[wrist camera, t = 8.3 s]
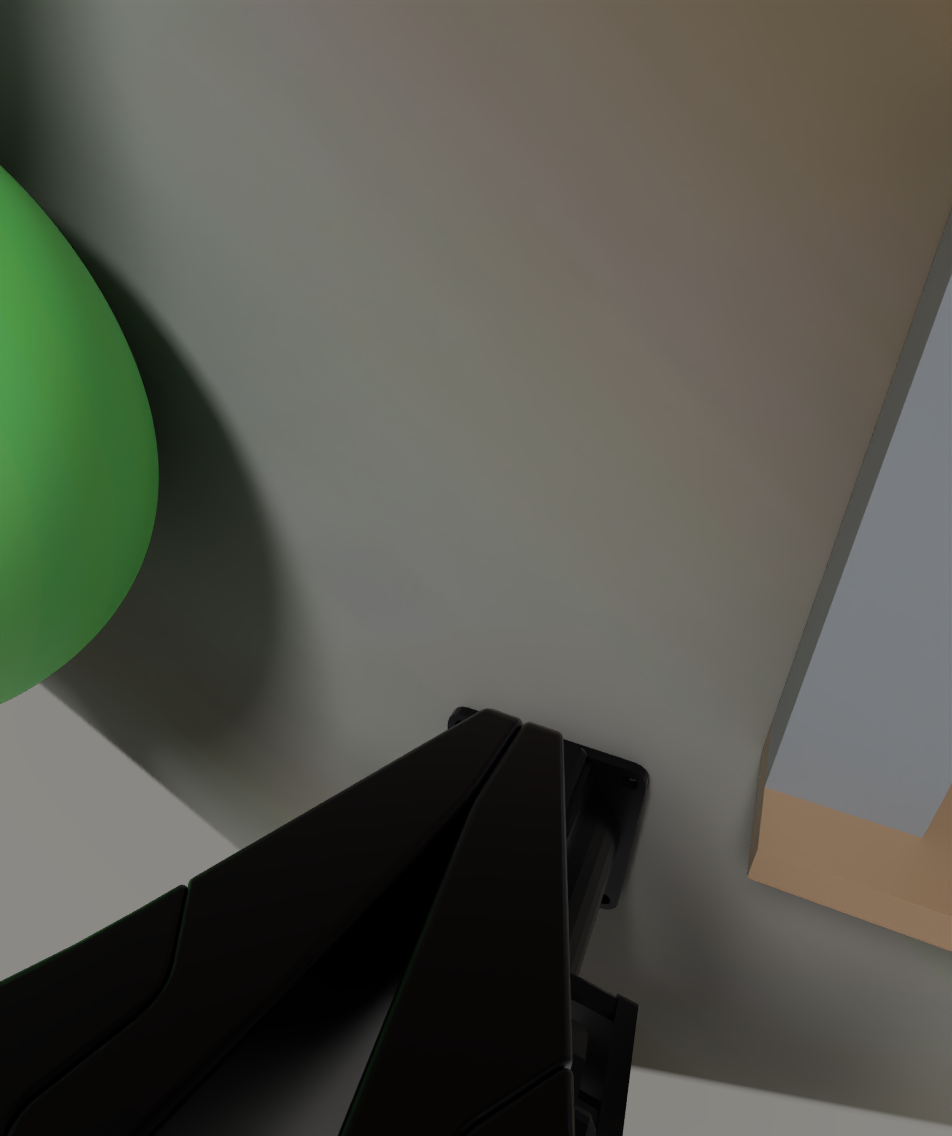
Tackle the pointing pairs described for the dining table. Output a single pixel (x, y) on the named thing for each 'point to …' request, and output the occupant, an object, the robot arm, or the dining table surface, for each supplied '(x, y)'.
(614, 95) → the dining table surface
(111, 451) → the toy bird
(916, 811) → the box
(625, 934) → the dining table surface
